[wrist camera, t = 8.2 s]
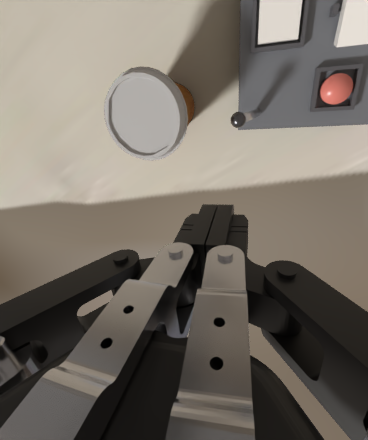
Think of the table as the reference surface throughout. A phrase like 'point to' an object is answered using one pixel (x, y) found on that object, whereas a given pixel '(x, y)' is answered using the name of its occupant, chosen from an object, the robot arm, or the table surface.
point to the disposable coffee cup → (147, 113)
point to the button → (336, 88)
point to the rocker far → (352, 24)
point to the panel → (299, 71)
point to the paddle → (279, 21)
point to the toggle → (244, 117)
